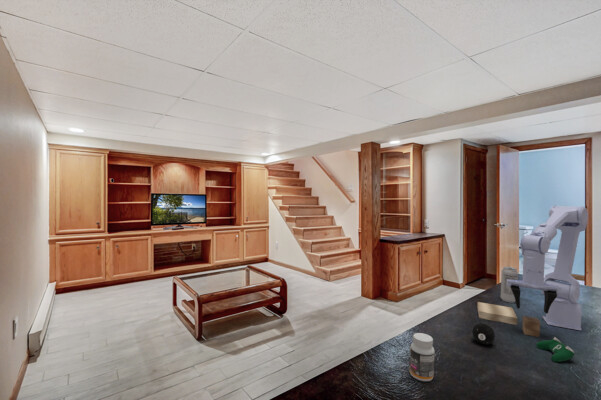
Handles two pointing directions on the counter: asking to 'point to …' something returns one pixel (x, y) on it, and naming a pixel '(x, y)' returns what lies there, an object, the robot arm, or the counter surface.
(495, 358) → the counter surface
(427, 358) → the pill bottle
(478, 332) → the billiard ball
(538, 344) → the gaming controller
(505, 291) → the energy drink can
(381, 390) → the counter surface
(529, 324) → the walnut block
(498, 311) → the birch base
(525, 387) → the counter surface
